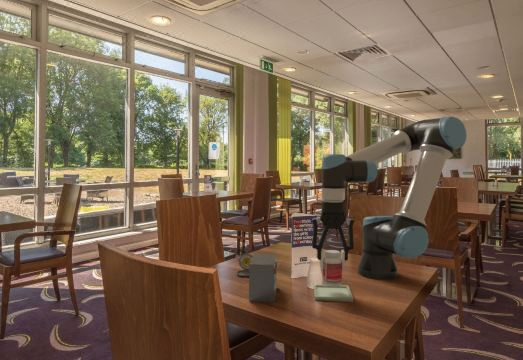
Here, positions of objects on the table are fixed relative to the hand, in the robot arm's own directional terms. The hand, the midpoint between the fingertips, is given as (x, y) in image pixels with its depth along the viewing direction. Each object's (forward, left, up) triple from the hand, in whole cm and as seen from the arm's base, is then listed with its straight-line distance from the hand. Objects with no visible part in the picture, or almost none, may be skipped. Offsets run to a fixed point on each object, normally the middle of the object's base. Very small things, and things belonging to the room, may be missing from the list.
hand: (332, 269), depth 124 cm
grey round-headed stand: (+32, -20, -9) cm, 39 cm away
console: (+23, +2, -8) cm, 25 cm away
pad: (0, 0, -8) cm, 8 cm away
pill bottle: (0, 0, -5) cm, 5 cm away
